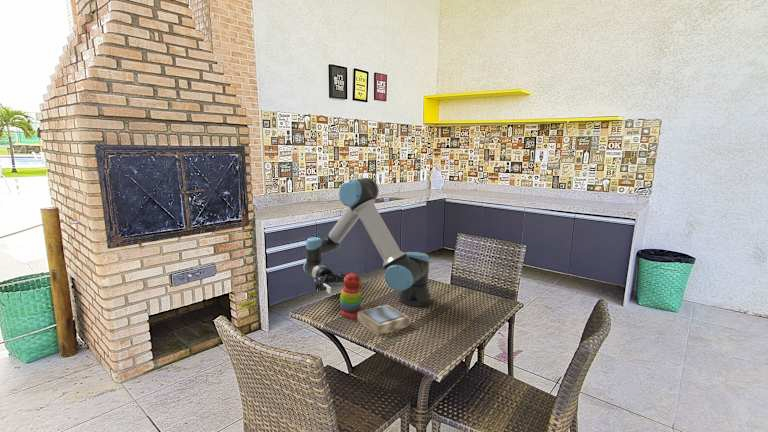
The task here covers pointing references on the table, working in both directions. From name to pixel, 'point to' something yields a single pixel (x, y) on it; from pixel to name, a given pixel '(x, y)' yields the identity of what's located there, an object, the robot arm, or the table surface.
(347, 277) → the stacking bear
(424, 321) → the table surface
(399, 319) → the plinth
